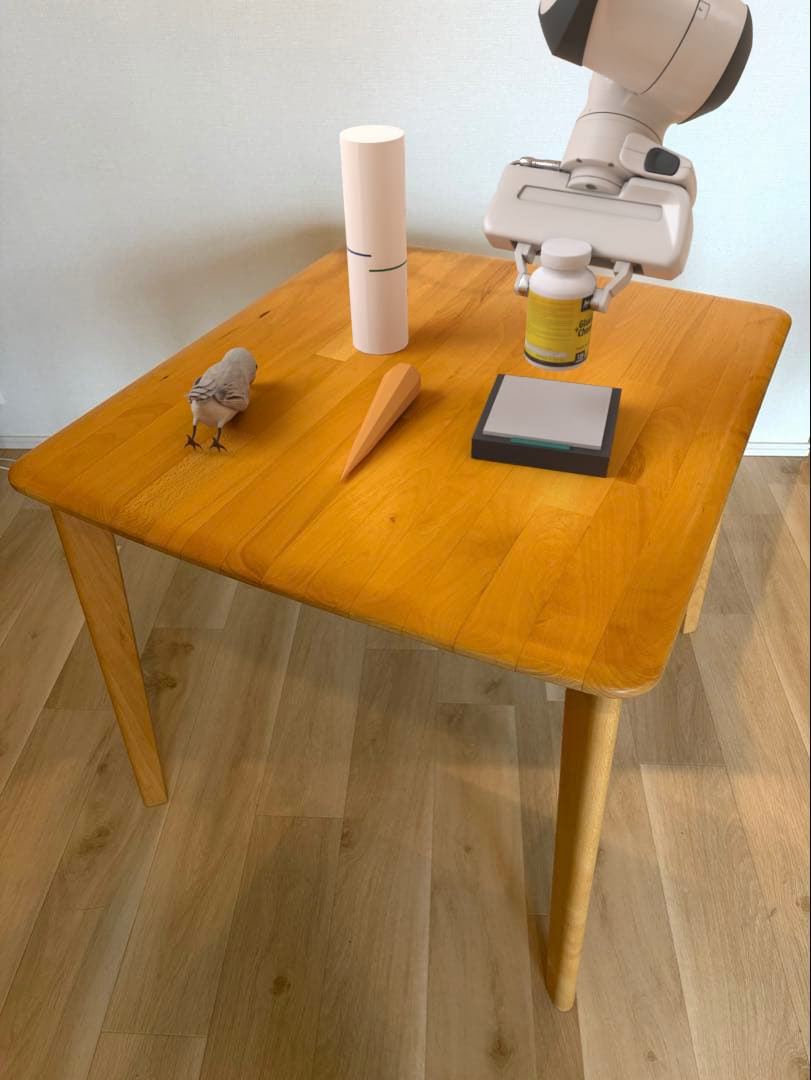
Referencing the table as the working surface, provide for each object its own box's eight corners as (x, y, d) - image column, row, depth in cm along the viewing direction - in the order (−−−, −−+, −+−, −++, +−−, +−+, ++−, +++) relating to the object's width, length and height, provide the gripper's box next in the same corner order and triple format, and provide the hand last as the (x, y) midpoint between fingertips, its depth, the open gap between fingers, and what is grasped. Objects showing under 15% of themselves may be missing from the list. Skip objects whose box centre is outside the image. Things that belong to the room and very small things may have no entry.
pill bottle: (567, 381, 84) (580, 265, 76) (511, 362, 87) (518, 250, 79) (598, 355, 87) (614, 243, 80) (543, 338, 91) (553, 229, 83)
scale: (618, 407, 96) (622, 384, 94) (606, 477, 86) (610, 453, 84) (496, 392, 99) (498, 369, 98) (470, 458, 89) (471, 434, 87)
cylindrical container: (367, 325, 113) (356, 122, 97) (416, 334, 111) (414, 127, 95) (343, 349, 108) (328, 139, 92) (395, 358, 106) (388, 145, 90)
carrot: (400, 392, 101) (383, 360, 99) (432, 386, 99) (417, 353, 96) (331, 502, 88) (310, 468, 86) (366, 498, 86) (347, 463, 83)
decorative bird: (272, 385, 102) (264, 326, 97) (227, 460, 90) (216, 398, 85) (229, 381, 103) (219, 323, 98) (179, 456, 90) (165, 394, 86)
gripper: (500, 136, 84) (453, 268, 84) (710, 164, 76) (658, 310, 76) (516, 171, 90) (472, 294, 90) (712, 200, 82) (664, 335, 81)
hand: (559, 302), depth 83 cm, fingers closed on pill bottle, 6 cm apart
